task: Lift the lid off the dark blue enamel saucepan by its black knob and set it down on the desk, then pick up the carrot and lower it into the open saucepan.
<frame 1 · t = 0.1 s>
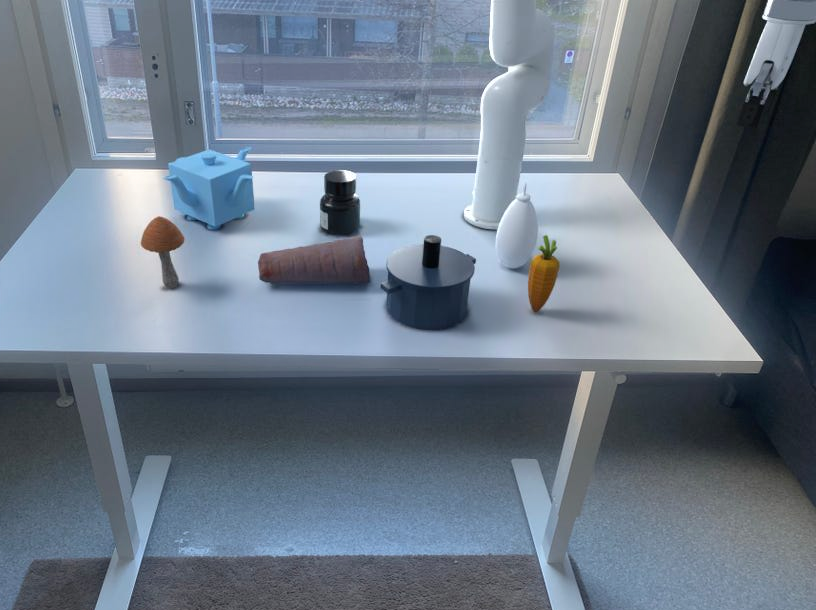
hand: (753, 119, 121), 31 cm above the table, tool pointing down, fingers open, 9 cm apart
food: (315, 279, 139), on the table
carrot: (535, 313, 129), on the table
mushroom: (170, 288, 136), on the table
saucepan: (426, 307, 130), on the table
ink bottle: (339, 228, 157), on the table
saucepan lid: (430, 267, 125), point 8 cm above the table, touching saucepan
teakettle: (218, 218, 161), on the table
white egg-shaped bulb: (511, 267, 143), on the table
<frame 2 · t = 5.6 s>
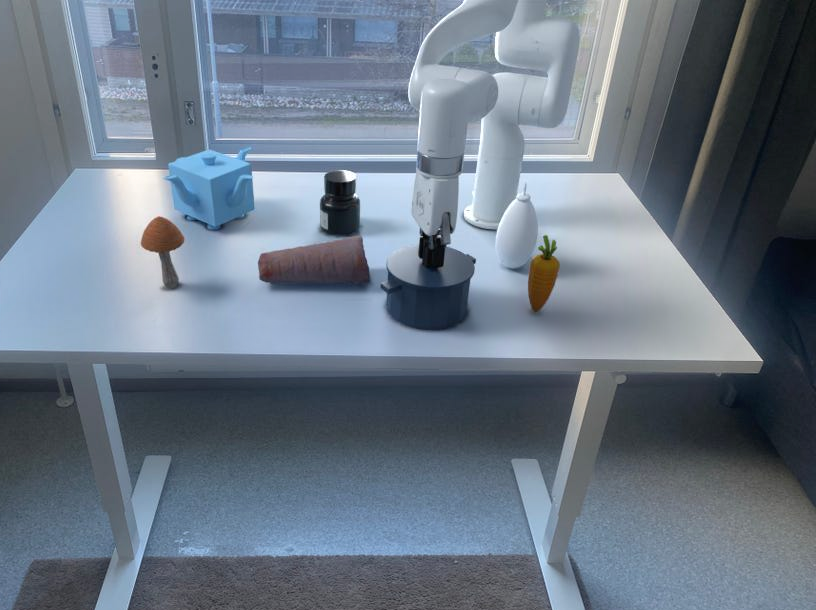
hand: (430, 261, 124), 10 cm above the table, tool pointing down, fingers closed on saucepan lid, 3 cm apart
saucepan lid: (430, 267, 125), point 9 cm above the table, touching gripper, saucepan
everything else where it was.
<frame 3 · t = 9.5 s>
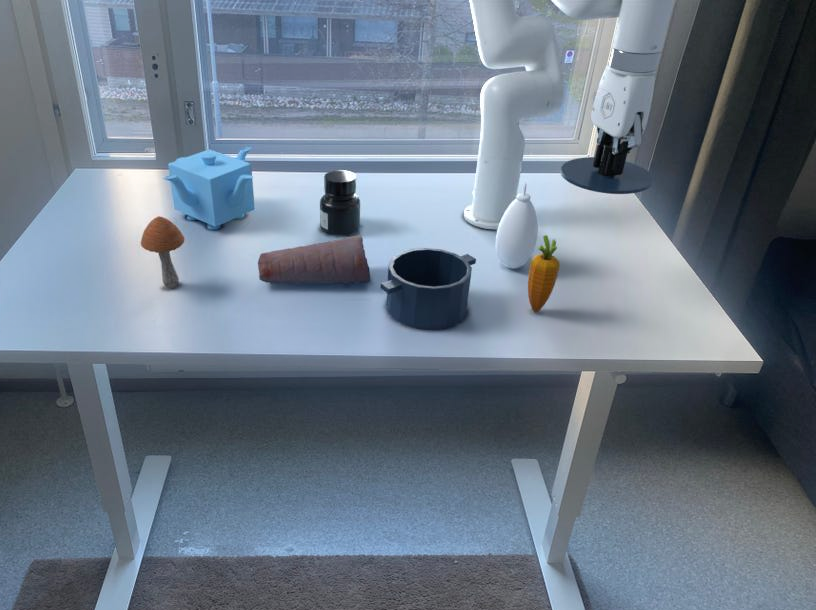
hand: (607, 169, 124), 23 cm above the table, tool pointing down, fingers closed on saucepan lid, 3 cm apart
saucepan lid: (605, 176, 124), point 22 cm above the table, touching gripper
everything else where it was.
when the fingers open (2 cm above the table, at t = 13.8 s): saucepan lid stays where it is, point 1 cm above the table.
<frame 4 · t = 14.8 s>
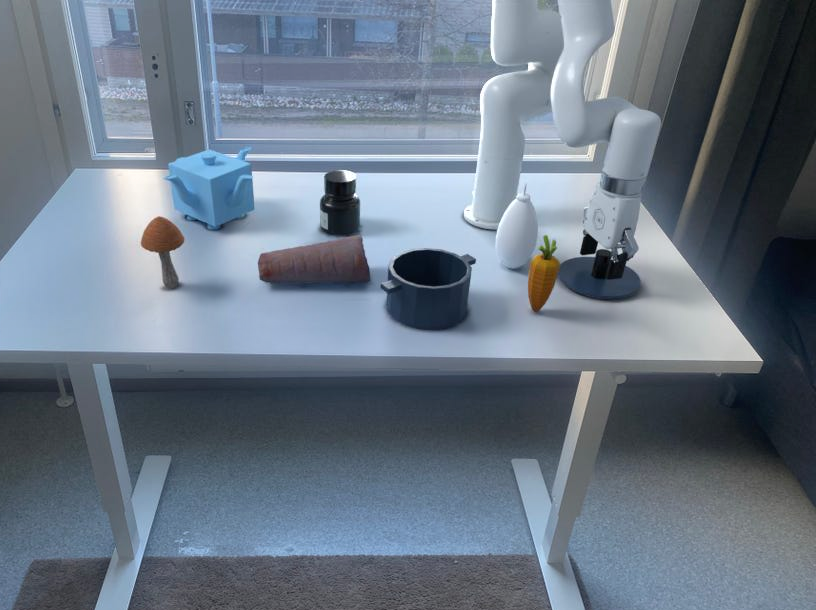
hand: (600, 265, 136), 3 cm above the table, tool pointing down, fingers open, 9 cm apart
saucepan lid: (598, 278, 138), point 1 cm above the table
everything else where it was.
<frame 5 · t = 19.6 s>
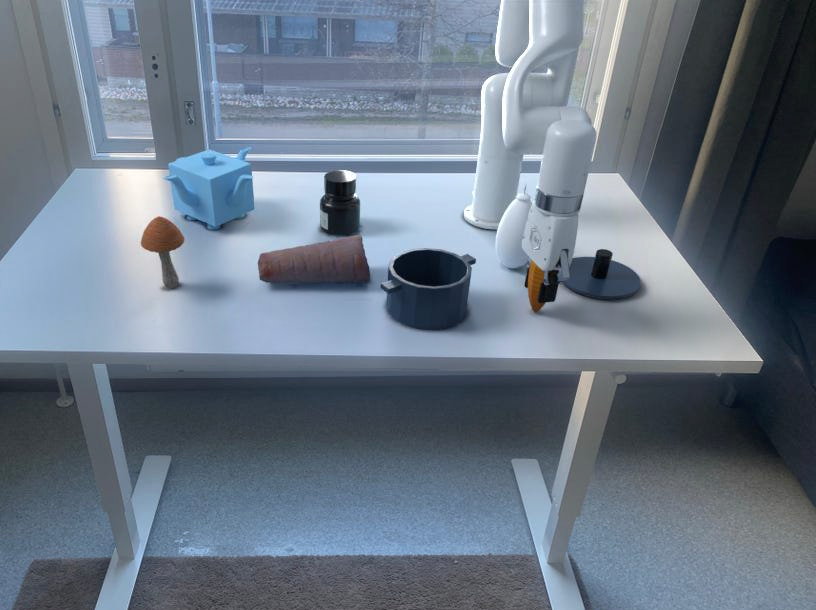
hand: (539, 293, 126), 4 cm above the table, tool pointing down, fingers closed on carrot, 4 cm apart
carrot: (535, 313, 129), on the table, touching gripper
everything else where it was.
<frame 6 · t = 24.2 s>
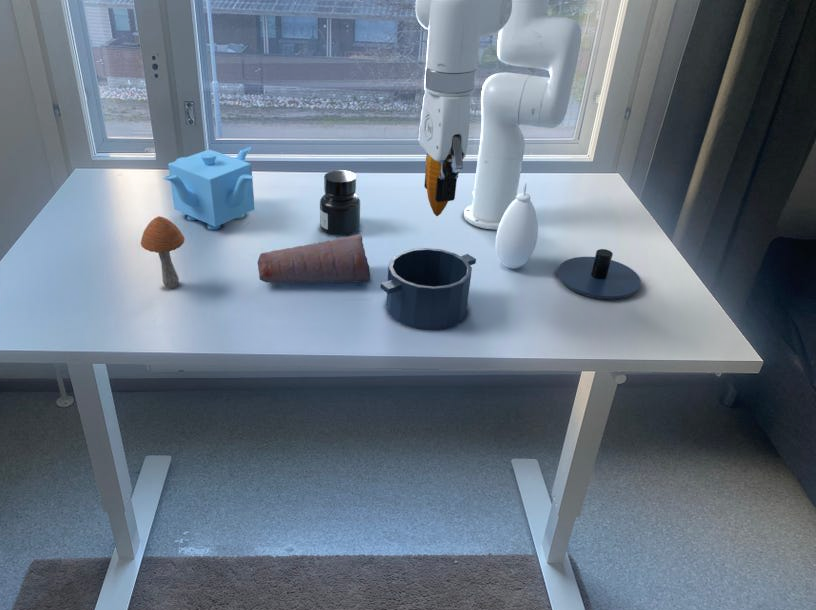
hand: (439, 193, 117), 23 cm above the table, tool pointing down, fingers closed on carrot, 4 cm apart
carrot: (436, 217, 119), point 18 cm above the table, touching gripper
everything else where it was.
when the fingers open (5 cm above the table, at t = 28.6 s): carrot stays where it is, resting on saucepan.
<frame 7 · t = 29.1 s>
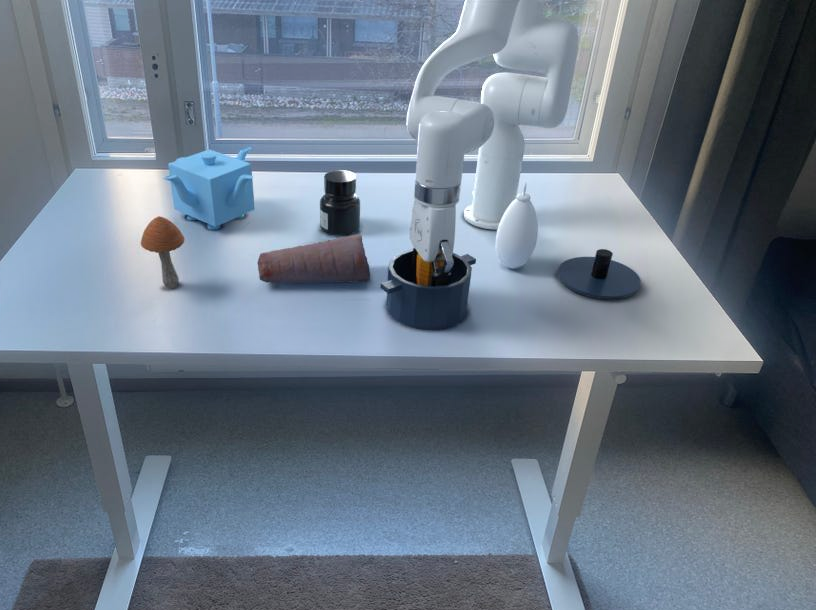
hand: (429, 280, 127), 6 cm above the table, tool pointing down, fingers open, 9 cm apart
carrot: (426, 306, 130), resting on saucepan
everything else where it was.
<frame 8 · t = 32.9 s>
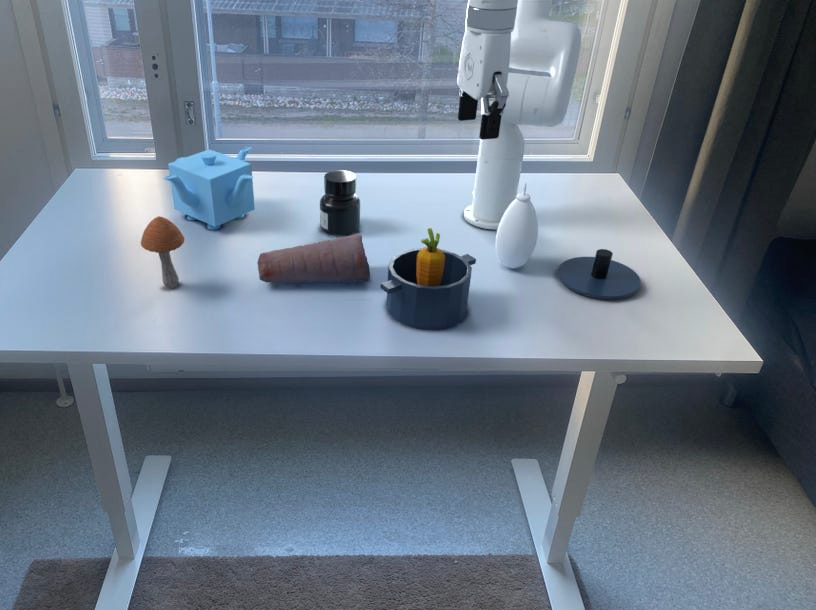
hand: (477, 128, 119), 30 cm above the table, tool pointing down, fingers open, 9 cm apart
nothing on the table moved.
at the end: saucepan lid inside the target area (0.1 cm from its centre), point 0.6 cm above the table; carrot inside the target area in the saucepan (0.1 cm from its centre), point 0.3 cm above the saucepan's base; the gripper is holding nothing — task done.
